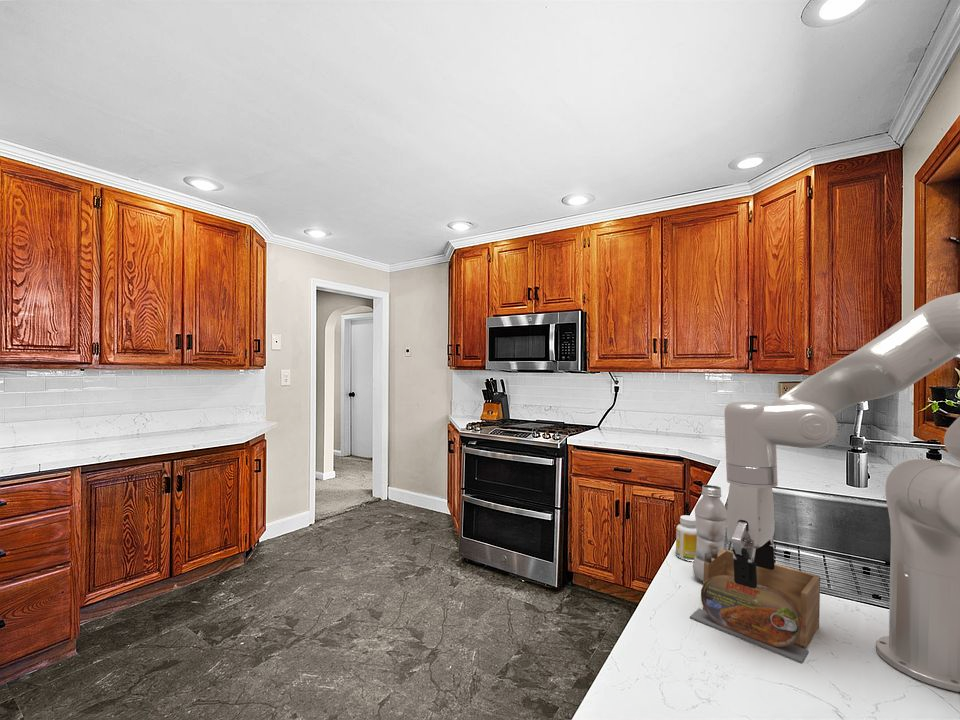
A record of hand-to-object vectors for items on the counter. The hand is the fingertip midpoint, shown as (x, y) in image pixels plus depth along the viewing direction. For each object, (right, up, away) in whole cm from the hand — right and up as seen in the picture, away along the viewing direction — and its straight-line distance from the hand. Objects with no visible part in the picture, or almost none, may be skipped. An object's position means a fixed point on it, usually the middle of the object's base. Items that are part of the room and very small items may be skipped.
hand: (755, 575), depth 79 cm
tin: (-1, -10, 0) cm, 10 cm away
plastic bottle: (+2, -11, +20) cm, 23 cm away
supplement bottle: (+3, -11, +32) cm, 34 cm away
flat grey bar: (-2, -10, 0) cm, 10 cm away
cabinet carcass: (+4, -10, +5) cm, 12 cm away
